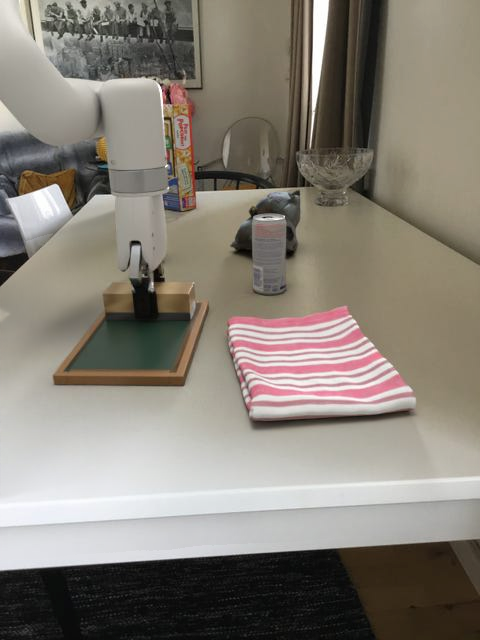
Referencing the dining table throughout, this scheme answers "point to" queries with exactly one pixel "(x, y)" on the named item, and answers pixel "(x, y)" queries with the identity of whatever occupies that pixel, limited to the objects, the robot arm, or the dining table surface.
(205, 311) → the chalkboard
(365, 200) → the dining table surface
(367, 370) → the dish towel
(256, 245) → the energy drink
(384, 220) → the dining table surface
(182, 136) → the board game
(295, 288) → the dining table surface
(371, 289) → the dining table surface
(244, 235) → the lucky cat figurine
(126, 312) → the eraser
